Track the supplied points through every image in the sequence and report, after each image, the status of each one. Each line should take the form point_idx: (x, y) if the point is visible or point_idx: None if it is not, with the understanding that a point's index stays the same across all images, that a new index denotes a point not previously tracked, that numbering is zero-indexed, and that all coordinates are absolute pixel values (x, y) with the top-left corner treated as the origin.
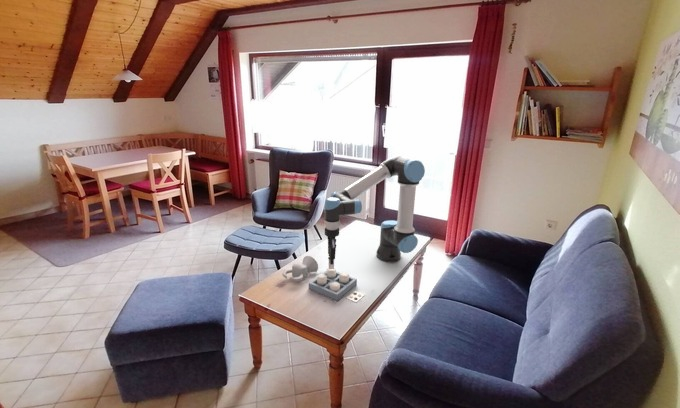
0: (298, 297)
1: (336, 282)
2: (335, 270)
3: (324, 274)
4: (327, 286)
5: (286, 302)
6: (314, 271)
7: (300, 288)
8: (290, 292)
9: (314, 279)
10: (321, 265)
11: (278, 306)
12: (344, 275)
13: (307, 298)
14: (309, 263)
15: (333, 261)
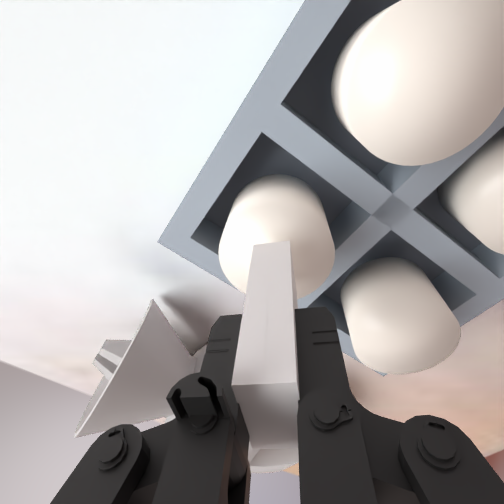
0: (442, 375)
1: (491, 187)
2: (286, 212)
3: (368, 320)
4: (476, 260)
5: (472, 414)
6: (162, 315)
7: (348, 368)
8: (381, 402)
9: (341, 345)
10: (48, 265)
11: (494, 436)
12: (450, 81)
13: (469, 338)
14: (153, 398)
15: (296, 329)
